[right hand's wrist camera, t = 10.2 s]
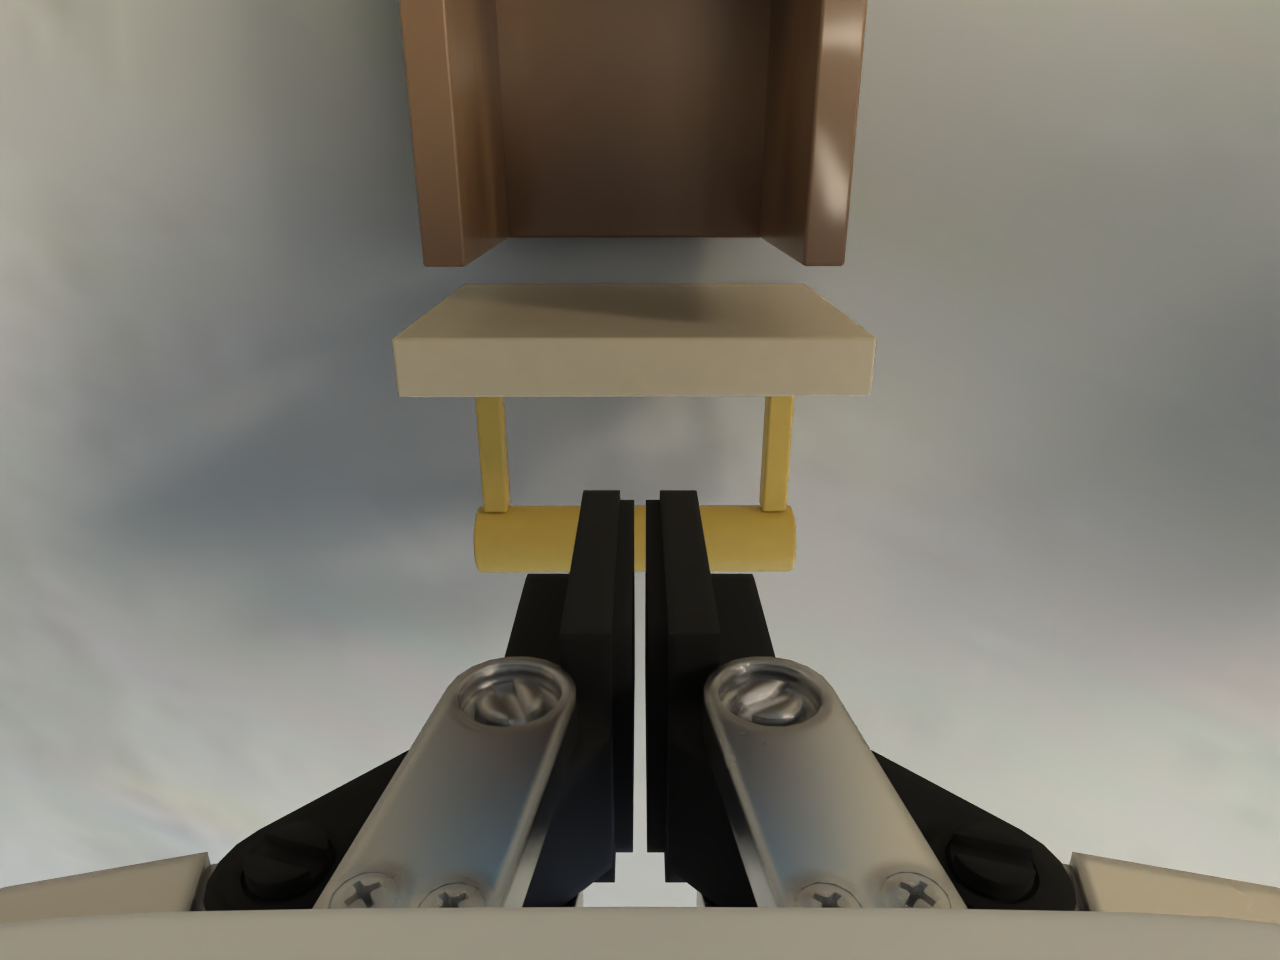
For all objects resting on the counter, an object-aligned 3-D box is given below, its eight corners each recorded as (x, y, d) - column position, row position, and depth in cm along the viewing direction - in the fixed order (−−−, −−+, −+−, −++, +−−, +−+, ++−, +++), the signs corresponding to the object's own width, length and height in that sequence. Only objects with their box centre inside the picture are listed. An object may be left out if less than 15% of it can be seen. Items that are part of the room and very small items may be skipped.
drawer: (790, 505, 25) (846, 632, 18) (479, 506, 25) (423, 634, 18) (864, -524, 17) (1017, -976, 10) (399, -526, 17) (242, -982, 10)
